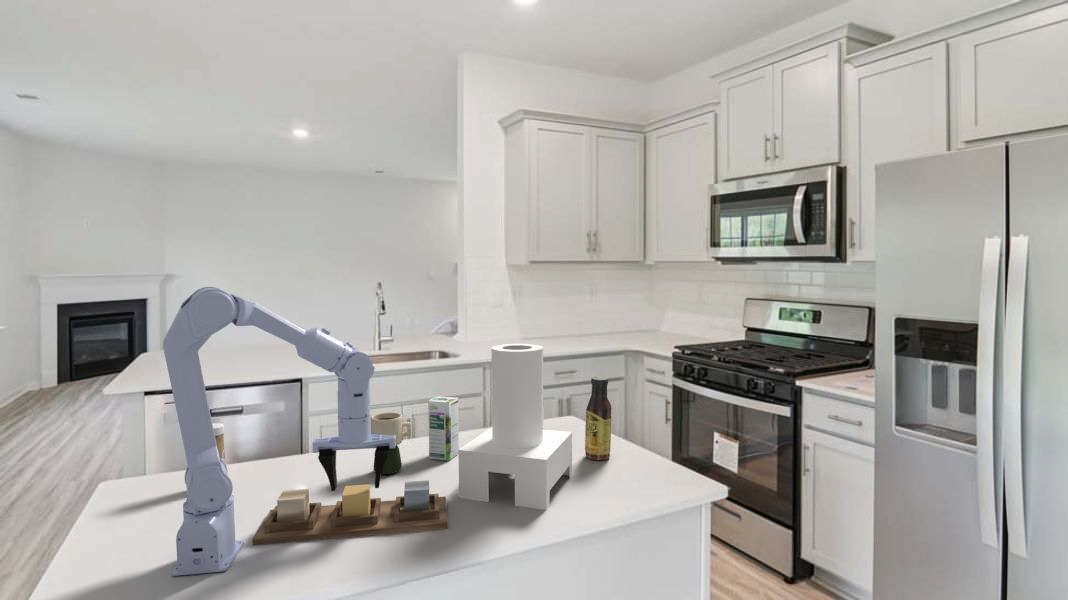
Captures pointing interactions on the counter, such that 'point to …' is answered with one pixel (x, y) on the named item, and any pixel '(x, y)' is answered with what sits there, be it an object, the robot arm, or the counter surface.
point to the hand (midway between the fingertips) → (355, 487)
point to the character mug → (390, 426)
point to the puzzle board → (325, 522)
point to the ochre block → (356, 500)
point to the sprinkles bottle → (219, 439)
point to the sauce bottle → (598, 421)
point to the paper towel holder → (516, 433)
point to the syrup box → (443, 428)
